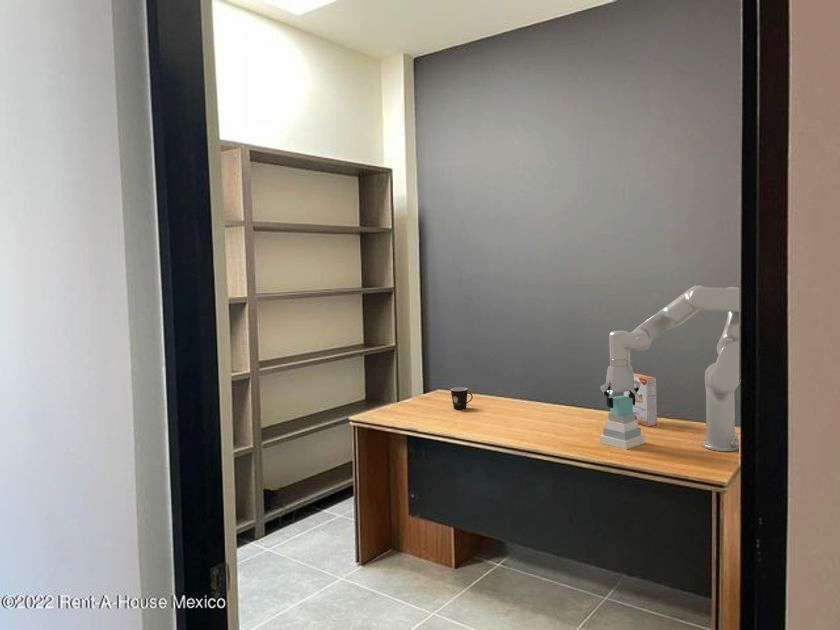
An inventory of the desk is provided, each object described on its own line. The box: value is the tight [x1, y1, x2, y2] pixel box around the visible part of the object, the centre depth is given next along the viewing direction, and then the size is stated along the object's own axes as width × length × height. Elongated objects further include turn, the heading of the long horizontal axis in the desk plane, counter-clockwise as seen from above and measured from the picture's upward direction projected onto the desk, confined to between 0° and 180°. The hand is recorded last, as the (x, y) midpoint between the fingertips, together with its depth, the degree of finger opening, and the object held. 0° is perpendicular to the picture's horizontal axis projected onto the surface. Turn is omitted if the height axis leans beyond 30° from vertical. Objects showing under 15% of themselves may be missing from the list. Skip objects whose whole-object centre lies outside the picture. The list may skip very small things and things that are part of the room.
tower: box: [599, 411, 646, 450], centre depth 236 cm, size 12×12×12 cm
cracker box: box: [623, 372, 658, 428], centre depth 262 cm, size 14×6×21 cm, turn 24°
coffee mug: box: [450, 386, 474, 411], centre depth 304 cm, size 12×9×10 cm
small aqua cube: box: [609, 395, 633, 416], centre depth 235 cm, size 6×6×6 cm
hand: (621, 405), depth 235 cm, fingers open, 9 cm apart
